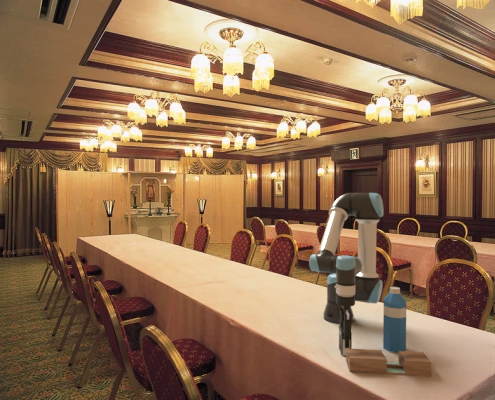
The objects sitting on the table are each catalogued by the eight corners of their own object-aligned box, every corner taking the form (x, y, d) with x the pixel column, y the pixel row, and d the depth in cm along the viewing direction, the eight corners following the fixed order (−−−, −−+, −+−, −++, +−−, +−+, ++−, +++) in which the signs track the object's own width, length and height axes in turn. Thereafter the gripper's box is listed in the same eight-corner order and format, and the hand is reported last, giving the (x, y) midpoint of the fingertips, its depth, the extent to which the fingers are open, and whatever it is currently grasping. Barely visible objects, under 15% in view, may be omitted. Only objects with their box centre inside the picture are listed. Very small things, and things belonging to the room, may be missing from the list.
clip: (338, 348, 150) (339, 326, 150) (348, 348, 150) (348, 326, 150) (341, 354, 144) (341, 332, 144) (351, 355, 143) (351, 332, 143)
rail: (346, 361, 138) (346, 348, 138) (422, 365, 135) (423, 352, 135) (349, 371, 130) (349, 357, 130) (431, 376, 127) (431, 362, 127)
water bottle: (400, 343, 155) (400, 285, 155) (410, 352, 146) (411, 291, 146) (378, 343, 155) (379, 285, 155) (388, 353, 146) (388, 291, 145)
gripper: (332, 288, 157) (332, 341, 157) (339, 301, 137) (338, 361, 137) (350, 288, 156) (350, 342, 156) (359, 301, 136) (359, 362, 136)
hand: (344, 351), depth 147 cm, fingers open, 7 cm apart
